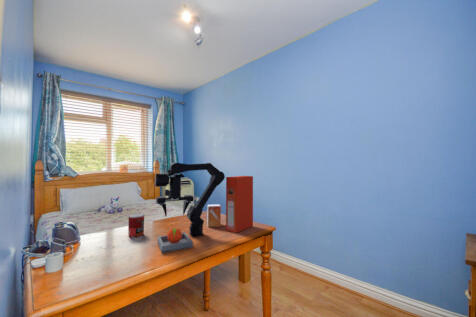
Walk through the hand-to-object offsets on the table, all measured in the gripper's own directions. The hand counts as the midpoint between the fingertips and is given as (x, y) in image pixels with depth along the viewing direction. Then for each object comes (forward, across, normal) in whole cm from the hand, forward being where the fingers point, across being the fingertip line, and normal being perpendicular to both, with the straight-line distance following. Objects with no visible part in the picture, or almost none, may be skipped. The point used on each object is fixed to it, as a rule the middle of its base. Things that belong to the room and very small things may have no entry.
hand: (174, 215), depth 114 cm
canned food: (+12, +18, -14) cm, 26 cm away
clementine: (+11, +2, +10) cm, 15 cm away
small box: (+12, -27, -12) cm, 32 cm away
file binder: (+12, -39, +1) cm, 41 cm away
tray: (+12, +2, +10) cm, 16 cm away
